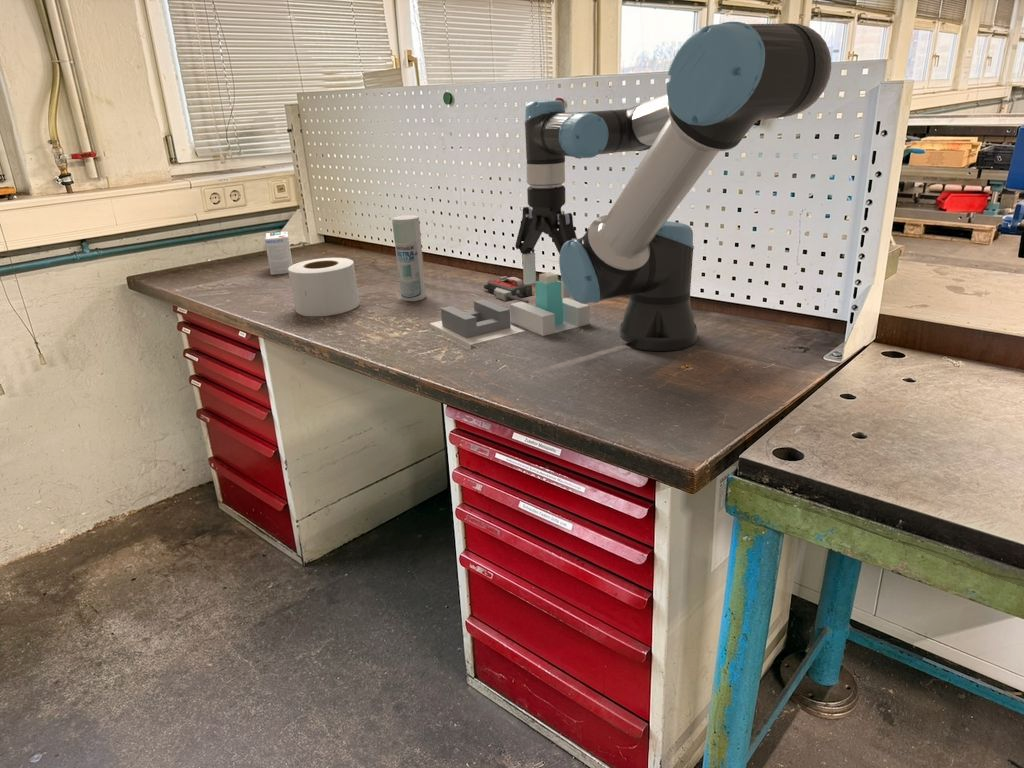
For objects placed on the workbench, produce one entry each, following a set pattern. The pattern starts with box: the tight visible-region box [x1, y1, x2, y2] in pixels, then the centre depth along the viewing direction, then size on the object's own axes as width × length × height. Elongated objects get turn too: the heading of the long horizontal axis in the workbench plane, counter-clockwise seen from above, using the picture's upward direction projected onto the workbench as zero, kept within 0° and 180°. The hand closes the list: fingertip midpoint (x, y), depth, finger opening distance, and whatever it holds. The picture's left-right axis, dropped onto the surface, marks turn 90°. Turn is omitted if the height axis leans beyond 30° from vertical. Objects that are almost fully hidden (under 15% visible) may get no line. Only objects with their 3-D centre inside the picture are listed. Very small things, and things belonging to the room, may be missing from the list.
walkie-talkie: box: [483, 275, 533, 304], centre depth 171 cm, size 9×4×20 cm
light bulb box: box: [264, 231, 294, 276], centre depth 209 cm, size 11×7×11 cm, turn 17°
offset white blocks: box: [509, 297, 591, 337], centre depth 146 cm, size 12×12×5 cm
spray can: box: [391, 214, 427, 302], centre depth 170 cm, size 6×6×20 cm
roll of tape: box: [288, 257, 361, 317], centre depth 168 cm, size 16×15×11 cm
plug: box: [534, 271, 563, 325], centre depth 145 cm, size 4×4×10 cm
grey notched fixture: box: [429, 298, 525, 350], centre depth 146 cm, size 18×13×5 cm
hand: (548, 290), depth 144 cm, fingers open, 13 cm apart
